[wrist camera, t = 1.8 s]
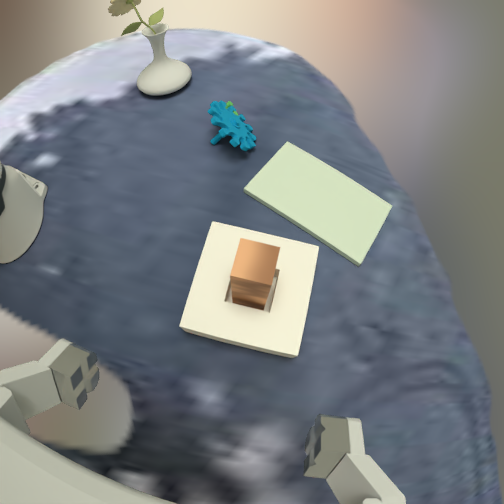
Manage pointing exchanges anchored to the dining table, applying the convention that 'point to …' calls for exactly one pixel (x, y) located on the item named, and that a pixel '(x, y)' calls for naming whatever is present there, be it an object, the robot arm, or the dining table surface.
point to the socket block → (242, 317)
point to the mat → (320, 201)
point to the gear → (231, 125)
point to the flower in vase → (162, 68)
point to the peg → (253, 273)
